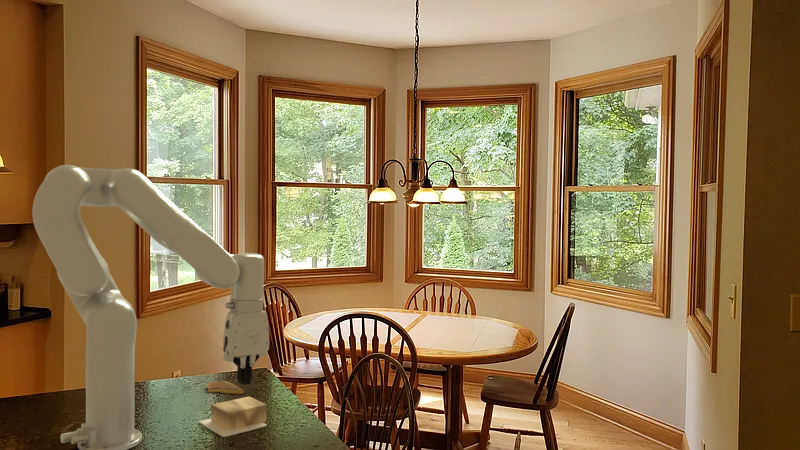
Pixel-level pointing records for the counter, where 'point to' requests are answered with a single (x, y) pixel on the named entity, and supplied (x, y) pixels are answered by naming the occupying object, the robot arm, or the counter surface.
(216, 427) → the plastic mat
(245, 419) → the wood block
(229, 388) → the shard
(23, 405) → the counter surface
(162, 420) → the counter surface
